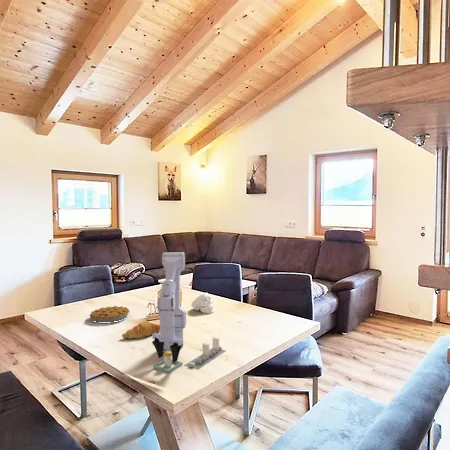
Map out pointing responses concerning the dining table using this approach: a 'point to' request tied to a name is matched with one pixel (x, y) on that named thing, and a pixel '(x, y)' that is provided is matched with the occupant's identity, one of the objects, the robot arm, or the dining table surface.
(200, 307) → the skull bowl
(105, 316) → the pie
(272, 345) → the dining table surface
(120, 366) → the dining table surface
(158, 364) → the tray
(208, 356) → the fuse middle
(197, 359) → the fuse panel
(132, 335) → the croissant
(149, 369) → the dining table surface
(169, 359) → the cylinder
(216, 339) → the fuse far
